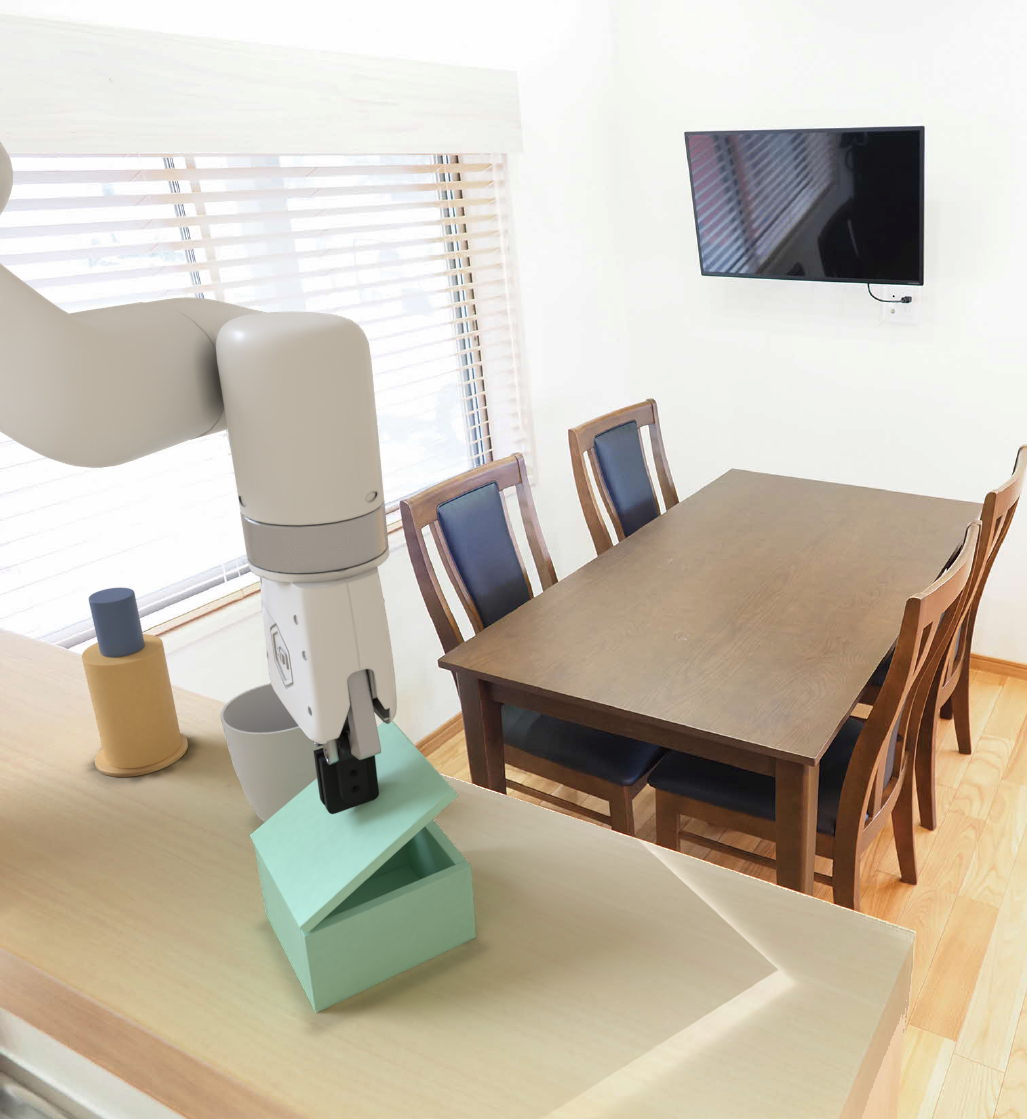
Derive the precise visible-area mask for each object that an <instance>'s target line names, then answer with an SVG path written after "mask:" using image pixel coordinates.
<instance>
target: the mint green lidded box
mask: <svg viewBox="0 0 1027 1119" xmlns="http://www.w3.org/2000/svg"><path fill="white" fill-rule="evenodd" d="M454 844H455V843H453V842H452V841H451V839H450V838H449V837H448V836H447V835H446V832H444V831H443V830H442V828H441V827H440V826H439V825H438V823H437V822H436V821H435V820H434V818H433V819H432V820H431V821H430V822H429V823H428V824H427V825H426V826H425V827H424V828H422V829H421V830H420V831H419V832H418V833H417V834H416V835H415V836H414V837H413V838H411V839H410V840H409V841H408V842H407V843H406V844H405V845H404V846H403V847H402V848H401V849H399V850H398V851H397V852H396V853H395V854H394V855H393V856H392V857H391V858H390V859H388V860H387V861H386V862H385V863H384V864H383V865H382V866H381V867H380V868H379V869H378V870H376V871H375V872H374V873H373V874H372V875H371V876H370V877H369V878H368V879H367V880H365V881H364V882H363V883H362V884H361V885H360V886H359V887H358V888H357V889H356V890H355V891H353V892H352V893H351V894H350V895H349V896H348V897H347V898H346V899H345V900H344V901H343V902H341V903H340V904H339V905H338V906H337V907H336V908H335V909H334V910H333V911H332V912H330V913H329V914H328V915H327V916H326V917H325V918H324V919H323V920H322V921H321V922H320V923H318V924H317V925H316V926H315V927H314V928H313V929H312V930H311V931H310V932H309V933H306V932H305V931H303V930H302V929H300V928H299V926H298V924H297V922H296V920H295V918H294V917H293V915H292V913H291V911H290V909H289V907H288V906H287V904H286V902H285V900H284V898H283V896H282V894H281V893H280V891H279V889H278V887H277V885H276V883H275V881H274V880H273V878H272V876H271V874H270V872H269V870H268V868H267V867H266V865H265V863H264V861H263V859H262V857H261V856H260V854H259V852H258V850H257V848H256V846H255V844H254V843H253V845H254V851H255V857H256V858H255V859H256V865H257V869H258V876H259V882H260V888H261V894H262V900H263V906H264V912H265V915H266V917H267V921H268V922H269V924H270V925H271V928H272V930H273V932H274V933H275V935H276V937H277V939H278V942H279V943H280V945H281V947H282V949H283V952H284V953H285V955H286V958H287V959H288V961H289V963H290V965H291V968H292V969H293V971H294V973H295V975H296V977H297V979H298V981H299V983H300V984H301V987H302V989H303V991H304V993H305V996H306V997H307V999H308V1000H309V1002H310V1004H311V1007H312V1008H313V1011H314V1014H315V1013H316V1014H317V1013H320V1012H321V1011H324V1010H326V1009H328V1008H330V1007H332V1006H334V1005H337V1004H339V1003H341V1002H343V1001H345V1000H347V999H349V998H351V997H354V996H355V995H358V994H360V993H362V992H364V991H366V990H368V989H371V988H372V987H374V986H376V985H379V984H381V983H383V982H385V981H387V980H389V979H392V978H393V977H396V976H398V975H400V974H402V973H404V972H406V971H408V970H410V969H412V968H414V967H416V966H418V965H420V964H423V963H425V962H427V961H429V960H431V959H433V958H435V957H438V956H439V955H442V954H444V953H446V952H448V951H450V950H452V949H454V948H456V947H458V946H461V945H463V944H465V943H467V942H469V941H471V940H474V939H475V938H477V937H476V936H477V931H476V917H475V916H476V914H475V901H474V886H473V884H474V883H473V867H472V864H470V863H469V861H468V860H467V859H466V857H465V856H464V855H463V854H462V852H461V851H460V850H459V849H458V848H457V847H456V846H455V845H454Z"/></svg>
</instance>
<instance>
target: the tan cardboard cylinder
mask: <svg viewBox="0 0 1027 1119" xmlns="http://www.w3.org/2000/svg"><path fill="white" fill-rule="evenodd" d="M88 604H89V608H90V609H89V610H90V612H91V617H92V622H93V626H94V631H95V636H96V640H97V642H95V643H93V644H92V645H90V646H88V647H87V648H86V649H85V650H84V651H83V652H82V654H81V661H82V664H83V669H84V673H85V678H86V682H87V687H88V691H89V695H90V699H91V705H92V709H93V712H94V717H95V721H96V722H95V723H96V727H97V730H98V734H99V735H98V736H99V740H100V743H101V744H100V745H101V747H102V748H103V753H104V757H105V761H106V762H107V763H108V764H109V765H111V766H113V767H117V768H139V767H144V766H149V765H152V764H155V763H158V762H160V761H163V760H165V759H167V758H169V757H170V756H172V755H173V754H174V753H176V752H177V751H178V749H179V748H180V746H181V744H182V740H181V735H180V733H181V730H180V726H179V720H178V716H177V715H178V714H177V710H176V709H177V708H176V705H175V699H174V695H173V689H172V684H171V679H170V672H169V667H168V662H167V657H166V652H165V648H164V641H163V640H162V639H161V638H160V637H159V636H156V635H154V634H148V633H143V629H142V622H141V618H140V613H139V608H138V604H137V598H136V593H135V591H134V589H133V588H129V587H110V588H104V589H101V590H99V591H96V592H94V593H92V594H90V595H89V597H88ZM102 748H101V749H102Z"/></svg>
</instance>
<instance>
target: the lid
mask: <svg viewBox="0 0 1027 1119" xmlns="http://www.w3.org/2000/svg"><path fill="white" fill-rule="evenodd" d="M377 729H378V735H379V740H380V745H381V753H380V754H377V755H375V761H376V770H377V780H378V789H379V795H378V797H377V798H376V799H375V800H372V801H370V802H367V803H364V804H361V805H358V806H356V807H353V808H350V809H347V810H344V811H341V812H339V813H336V814H330V813H329V812H328V811H327V809H326V807H325V805H324V804H323V803H322V802H321V800H320V796H319V788H318V781H317V778H316V779H315V780H314V781H313V782H312V783H311V784H309V785H308V786H307V787H306V788H305V789H304V790H302V791H301V792H300V793H299V794H298V795H296V796H295V797H294V798H293V799H292V800H291V801H289V802H288V803H287V804H286V805H285V806H284V807H282V808H281V809H280V810H279V811H278V812H276V813H275V814H274V815H273V816H272V817H271V818H269V819H268V820H267V821H266V822H263V823H262V824H261V825H259V827H257V828H256V829H255V830H254V831H252V833H250V835H249V837H250V839H251V841H252V842H253V845H254V844H255V846H256V848H257V850H258V852H259V854H260V856H261V857H262V859H263V861H264V863H265V865H266V867H267V868H268V870H269V872H270V874H271V876H272V878H273V880H274V881H275V883H276V885H277V887H278V889H279V891H280V893H281V894H282V896H283V898H284V900H285V902H286V904H287V906H288V907H289V909H290V911H291V913H292V915H293V917H294V918H295V920H296V922H297V924H298V926H299V928H300V929H302V930H303V931H305V932H306V933H309V932H310V931H311V930H312V929H313V928H314V927H315V926H316V925H317V924H318V923H320V922H321V921H322V920H323V919H324V918H325V917H326V916H327V915H328V914H329V913H330V912H332V911H333V910H334V909H335V908H336V907H337V906H338V905H339V904H340V903H341V902H343V901H344V900H345V899H346V898H347V897H348V896H349V895H350V894H351V893H352V892H353V891H355V890H356V889H357V888H358V887H359V886H360V885H361V884H362V883H363V882H364V881H365V880H367V879H368V878H369V877H370V876H371V875H372V874H373V873H374V872H375V871H376V870H378V869H379V868H380V867H381V866H382V865H383V864H384V863H385V862H386V861H387V860H388V859H390V858H391V857H392V856H393V855H394V854H395V853H396V852H397V851H398V850H399V849H401V848H402V847H403V846H404V845H405V844H406V843H407V842H408V841H409V840H410V839H411V838H413V837H414V836H415V835H416V834H417V833H418V832H419V831H420V830H421V829H422V828H424V827H425V826H426V825H427V824H428V823H429V822H430V821H431V820H432V819H433V820H434V819H435V818H436V817H437V816H438V815H439V814H440V813H441V812H442V811H443V810H444V809H446V808H447V807H448V806H449V805H450V804H451V803H452V802H453V801H454V800H455V799H457V797H459V793H458V792H457V791H456V790H455V789H454V788H453V787H452V786H451V784H450V783H449V782H448V781H447V780H446V779H445V777H443V776H442V774H441V773H440V772H439V770H437V769H436V767H435V766H434V765H433V764H432V763H431V762H430V761H429V760H428V759H427V757H426V756H425V755H424V754H423V753H422V752H421V751H420V749H419V748H418V747H417V746H416V745H415V744H414V743H413V742H412V741H411V739H410V738H409V737H408V736H407V735H406V734H405V733H404V732H403V730H402V729H401V728H400V727H399V725H397V723H395V721H394V720H392V722H391V723H389V724H386V723H384V722H383V721H382V722H381V723H380V724H378V725H377ZM255 846H254V847H255Z"/></svg>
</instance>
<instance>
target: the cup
mask: <svg viewBox="0 0 1027 1119" xmlns="http://www.w3.org/2000/svg"><path fill="white" fill-rule="evenodd" d="M219 716H220V717H219V718H220V722H221V725H222V729H223V733H224V737H225V741H226V744H227V748H228V752H229V755H230V759H231V763H232V767H233V769H234V770H235V774H236V777H237V778H238V782H239V783H240V786H241V788H242V791H243V793H244V796H245V798H246V800H247V802H248V803H249V805H250V806H251V808H252V809H253V812H254V813H255V814H256V816H257V817H258V819H260V820H261V821H262V822H263V823H265V822H266V821H267V820H268V819H269V818H271V817H272V816H273V815H274V814H275V813H276V812H278V811H279V810H280V809H281V808H282V807H284V806H285V805H286V804H287V803H288V802H289V801H291V800H292V799H293V798H294V797H295V796H296V795H298V794H299V793H300V792H301V791H302V790H304V789H305V788H306V787H307V786H308V785H309V784H311V783H312V782H313V781H314V780H315V779H316V778H317V774H316V766H315V759H314V752H313V751H314V750H317V749H320V748H323V746H320V747H316V746H315V745H314V742H313V741H312V740H311V739H309V738H308V737H307V736H306V735H305V733H304V732H303V731H302V729H301V728H300V727H299V725H298V724H297V723H296V721H295V720H294V719H293V717H292V716H291V714H290V713H289V712H288V710H287V709H286V707H285V706H284V705H283V703H282V702H281V700H280V699H279V697H278V696H277V694H276V693H275V691H274V689H273V687H272V684H271V682H270V683H266V684H261V685H259V686H255V687H253V688H250V689H248V690H245V691H243V692H241V693H239V694H238V695H236V696H234V697H233V698H231V699H230V700H229V701H227V703H226V704H225V705H224V706H223V707H222V710H221V711H220V715H219Z"/></svg>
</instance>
